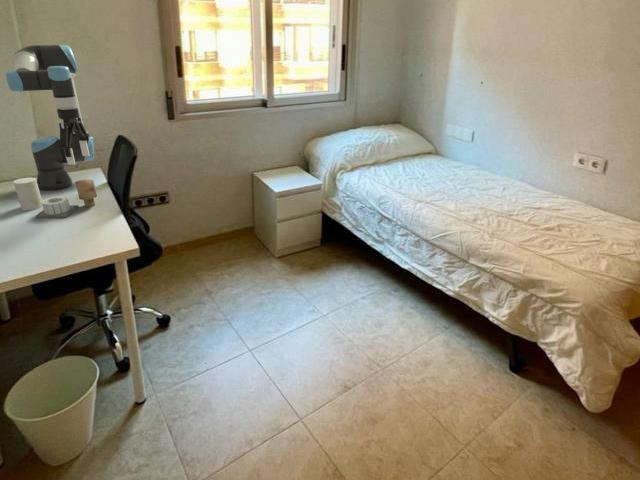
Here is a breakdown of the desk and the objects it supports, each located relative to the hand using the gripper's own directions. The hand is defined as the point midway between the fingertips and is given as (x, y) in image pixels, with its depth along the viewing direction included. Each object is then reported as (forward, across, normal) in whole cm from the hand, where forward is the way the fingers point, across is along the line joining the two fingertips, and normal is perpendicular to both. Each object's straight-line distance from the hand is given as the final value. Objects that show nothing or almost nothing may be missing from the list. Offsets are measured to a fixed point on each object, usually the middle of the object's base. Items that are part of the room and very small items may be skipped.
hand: (79, 160), depth 184 cm
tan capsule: (+20, 0, 0) cm, 21 cm away
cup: (+21, +1, -24) cm, 32 cm away
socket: (+20, +8, -10) cm, 24 cm away
